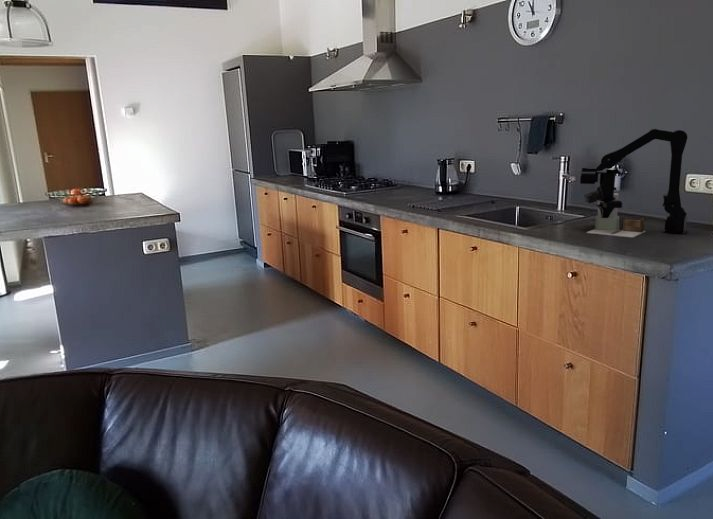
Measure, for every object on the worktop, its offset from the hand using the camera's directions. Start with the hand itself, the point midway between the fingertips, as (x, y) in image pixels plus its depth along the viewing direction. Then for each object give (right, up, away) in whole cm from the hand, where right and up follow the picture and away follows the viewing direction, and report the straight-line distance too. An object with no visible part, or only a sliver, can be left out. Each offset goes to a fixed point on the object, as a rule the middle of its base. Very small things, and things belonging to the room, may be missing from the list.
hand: (604, 221), depth 229 cm
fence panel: (0, -3, -2) cm, 4 cm away
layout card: (+2, -5, -7) cm, 8 cm away
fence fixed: (+8, -5, -7) cm, 11 cm away
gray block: (+11, +2, +21) cm, 23 cm away
